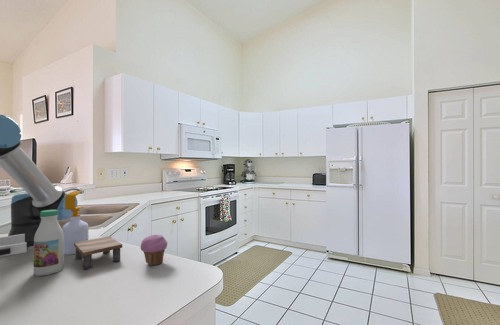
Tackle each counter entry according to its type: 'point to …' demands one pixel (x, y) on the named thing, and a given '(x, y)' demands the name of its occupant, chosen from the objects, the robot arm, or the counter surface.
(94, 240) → the pegged shelf
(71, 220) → the soap bottle
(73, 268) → the counter surface
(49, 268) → the milk bottle
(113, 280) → the counter surface
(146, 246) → the cupcake
